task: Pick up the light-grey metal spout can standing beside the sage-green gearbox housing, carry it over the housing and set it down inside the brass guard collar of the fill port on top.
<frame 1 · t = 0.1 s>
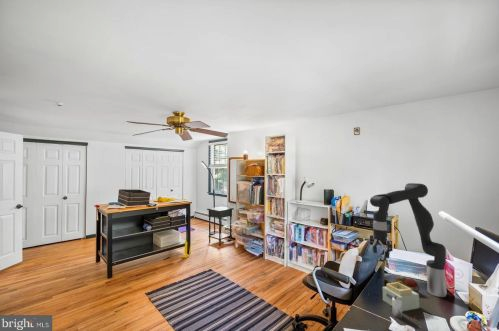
hand: (380, 255, 132), 29 cm above the table, fingers open, 8 cm apart
gearbox: (400, 303, 131), on the table
figurine: (400, 291, 146), on the table
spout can: (397, 315, 120), on the table
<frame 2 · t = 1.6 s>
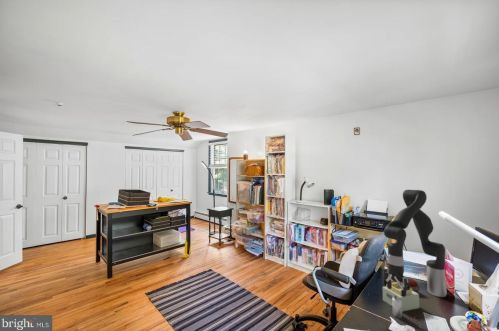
hand: (396, 292, 121), 12 cm above the table, fingers open, 8 cm apart
nothing on the table moved.
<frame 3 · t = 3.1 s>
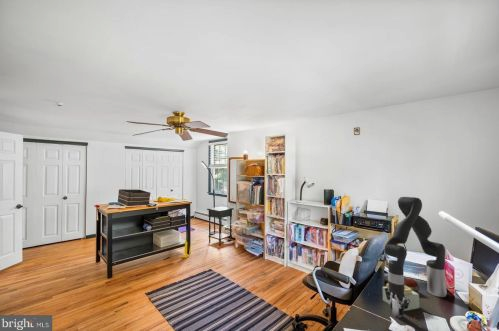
hand: (397, 311, 120), 2 cm above the table, fingers closed on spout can, 4 cm apart
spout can: (397, 315, 120), on the table, touching gripper
everything else where it was.
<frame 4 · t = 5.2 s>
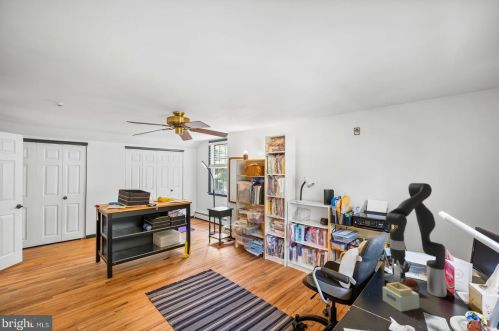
hand: (398, 276, 127), 18 cm above the table, fingers closed on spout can, 4 cm apart
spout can: (398, 279, 127), point 16 cm above the table, touching gripper
everything else where it was.
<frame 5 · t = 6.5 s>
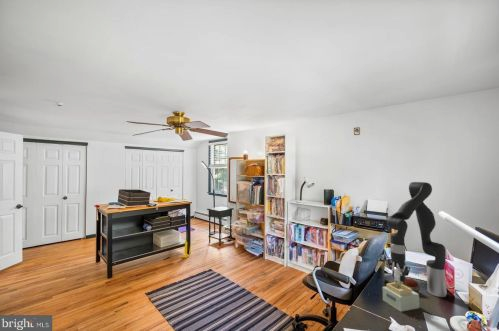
hand: (398, 279, 131), 15 cm above the table, fingers closed on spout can, 4 cm apart
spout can: (398, 282, 131), point 13 cm above the table, touching gripper
everything else where it was.
when the fingers open (11 cm above the table, at t = 7.5 s): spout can drops 1 cm, resting on gearbox.
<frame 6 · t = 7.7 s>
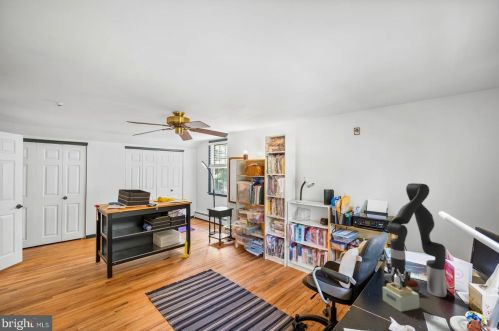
hand: (398, 284, 131), 12 cm above the table, fingers open, 6 cm apart
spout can: (398, 290, 131), point 8 cm above the table, touching gearbox
everything else where it was.
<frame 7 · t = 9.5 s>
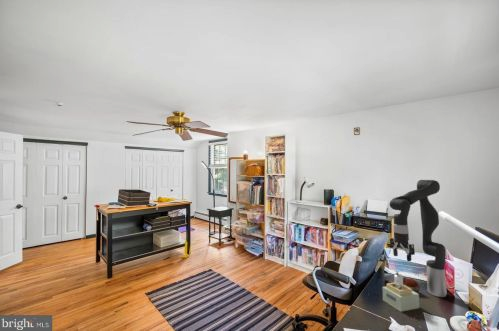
hand: (402, 258, 132), 27 cm above the table, fingers open, 8 cm apart
nothing on the table moved.
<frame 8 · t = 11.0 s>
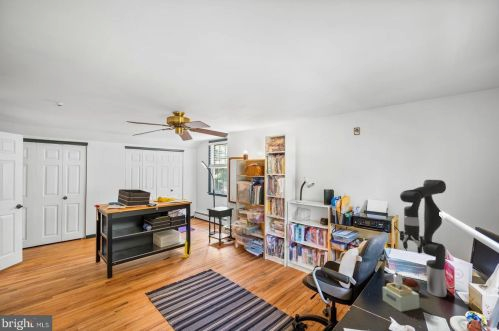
hand: (412, 250, 131), 32 cm above the table, fingers open, 8 cm apart
nothing on the table moved.
at the end: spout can 0.1 cm from the target spot on the gearbox, point 8.1 cm above the gearbox's base; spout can tilted 2°; the gripper is holding nothing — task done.
